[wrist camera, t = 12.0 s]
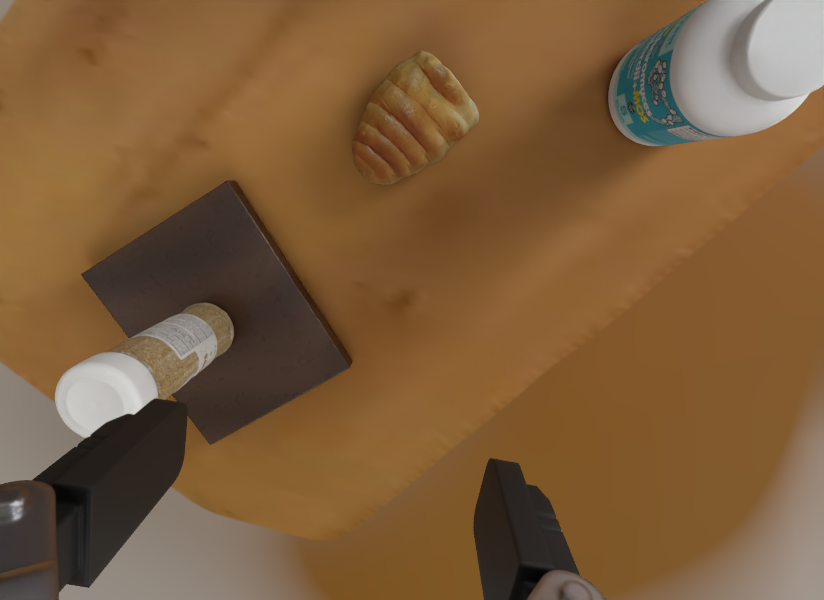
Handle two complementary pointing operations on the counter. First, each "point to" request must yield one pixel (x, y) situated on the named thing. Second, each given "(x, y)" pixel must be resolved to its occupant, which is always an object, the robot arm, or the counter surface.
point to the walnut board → (224, 308)
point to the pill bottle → (720, 71)
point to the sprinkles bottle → (142, 368)
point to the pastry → (412, 120)
